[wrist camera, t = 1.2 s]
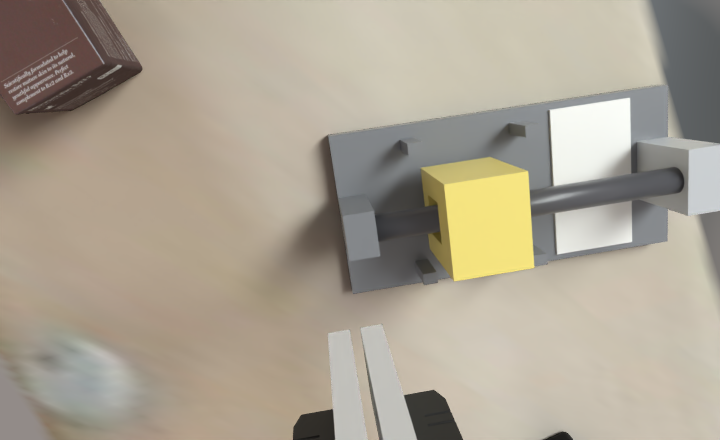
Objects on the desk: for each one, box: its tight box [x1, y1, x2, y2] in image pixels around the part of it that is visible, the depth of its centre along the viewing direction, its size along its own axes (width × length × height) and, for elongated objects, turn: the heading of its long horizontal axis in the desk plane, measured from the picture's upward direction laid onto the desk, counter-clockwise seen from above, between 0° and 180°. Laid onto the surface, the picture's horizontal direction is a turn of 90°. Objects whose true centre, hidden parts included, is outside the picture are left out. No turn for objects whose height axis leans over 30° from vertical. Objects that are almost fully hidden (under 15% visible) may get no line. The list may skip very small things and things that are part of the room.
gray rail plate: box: [328, 85, 720, 294], centre depth 37 cm, size 12×25×7 cm, turn 98°
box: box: [0, 0, 142, 115], centre depth 32 cm, size 6×6×7 cm
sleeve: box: [421, 157, 534, 281], centre depth 35 cm, size 6×5×7 cm
